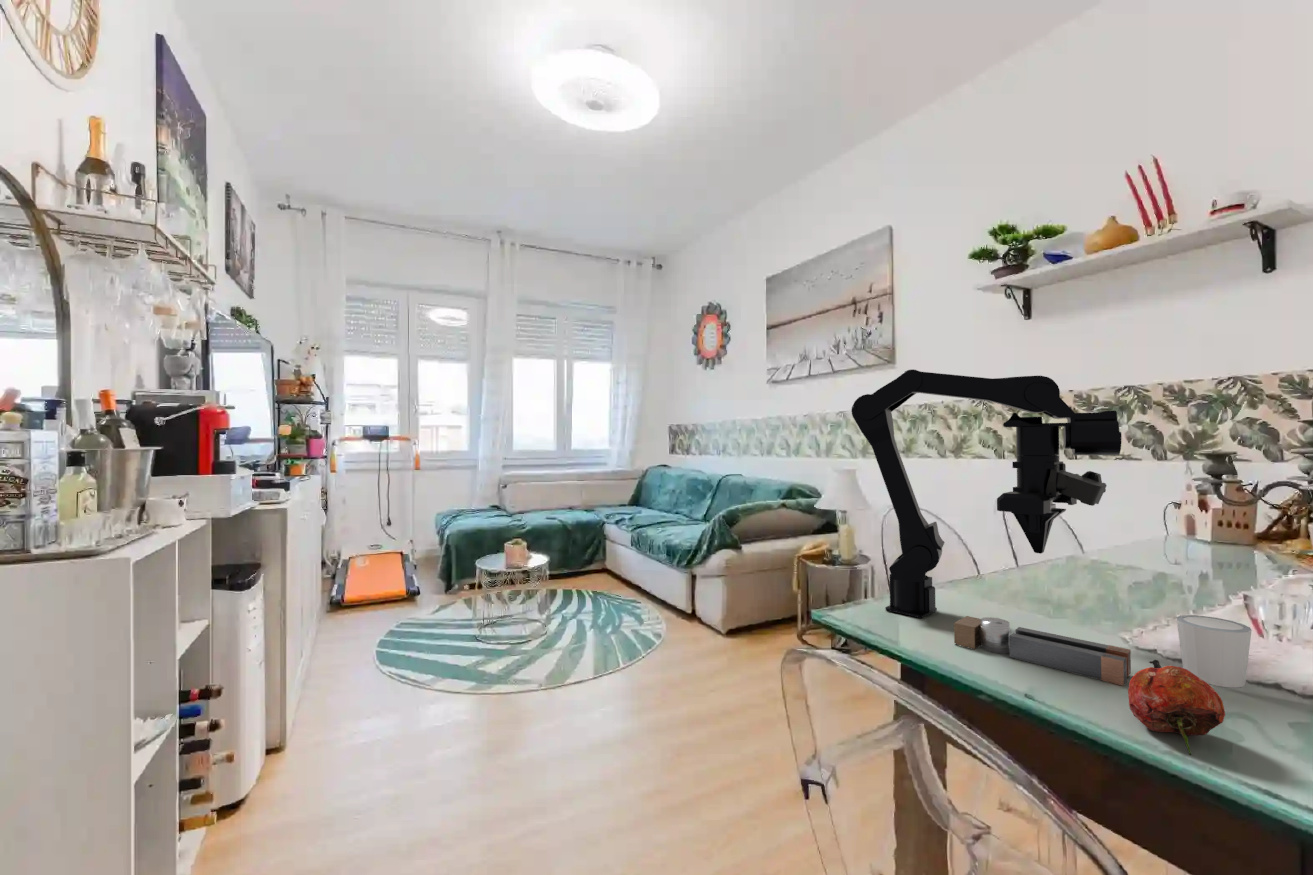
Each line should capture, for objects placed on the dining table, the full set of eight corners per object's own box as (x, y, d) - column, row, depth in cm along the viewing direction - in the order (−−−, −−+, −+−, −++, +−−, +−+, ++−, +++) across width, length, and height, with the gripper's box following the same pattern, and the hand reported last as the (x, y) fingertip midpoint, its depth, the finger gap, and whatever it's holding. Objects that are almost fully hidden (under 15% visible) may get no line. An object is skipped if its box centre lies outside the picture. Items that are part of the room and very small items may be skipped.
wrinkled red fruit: (1239, 780, 55) (1209, 685, 62) (1242, 738, 52) (1210, 643, 59) (1139, 765, 59) (1121, 677, 66) (1136, 725, 56) (1117, 637, 63)
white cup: (1187, 683, 71) (1186, 626, 71) (1169, 663, 77) (1168, 611, 77) (1263, 693, 68) (1262, 634, 68) (1238, 672, 74) (1237, 618, 74)
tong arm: (1015, 650, 82) (1015, 629, 82) (1019, 647, 83) (1019, 626, 83) (1128, 676, 72) (1127, 653, 72) (1130, 672, 74) (1130, 649, 74)
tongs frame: (954, 644, 85) (954, 617, 85) (967, 636, 88) (966, 610, 88) (1123, 686, 70) (1122, 653, 70) (1131, 675, 73) (1130, 644, 73)
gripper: (1083, 458, 80) (1085, 570, 80) (1114, 454, 92) (1115, 551, 92) (994, 456, 88) (996, 558, 88) (1034, 453, 100) (1035, 542, 100)
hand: (1039, 552), depth 92 cm, fingers closed
